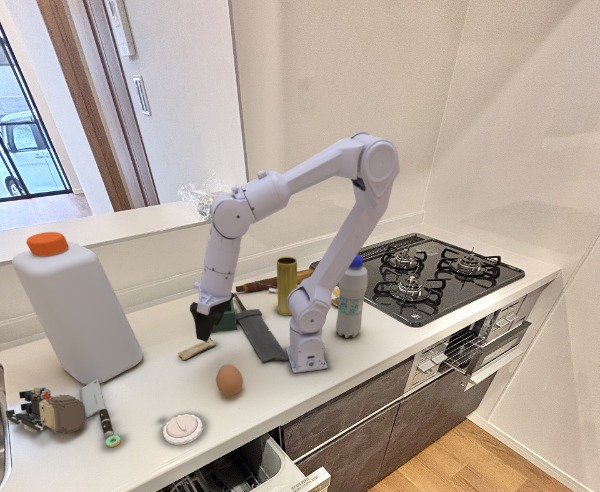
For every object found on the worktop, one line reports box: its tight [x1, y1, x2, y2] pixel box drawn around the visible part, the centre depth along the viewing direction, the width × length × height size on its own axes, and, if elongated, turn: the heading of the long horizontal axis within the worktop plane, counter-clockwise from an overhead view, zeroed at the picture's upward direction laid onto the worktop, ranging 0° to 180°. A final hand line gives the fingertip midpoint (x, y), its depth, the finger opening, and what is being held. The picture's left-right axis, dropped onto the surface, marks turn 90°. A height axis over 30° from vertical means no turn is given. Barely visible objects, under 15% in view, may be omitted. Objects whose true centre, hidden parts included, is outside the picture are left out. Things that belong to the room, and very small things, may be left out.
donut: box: [105, 434, 122, 448], centre depth 66 cm, size 2×10×1 cm, turn 121°
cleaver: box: [79, 379, 114, 439], centre depth 69 cm, size 17×1×5 cm
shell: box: [331, 288, 340, 307], centre depth 100 cm, size 8×4×5 cm
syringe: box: [259, 283, 278, 294], centre depth 107 cm, size 10×2×2 cm
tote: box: [211, 298, 238, 333], centre depth 93 cm, size 10×9×5 cm
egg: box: [215, 364, 244, 396], centre depth 71 cm, size 5×5×7 cm
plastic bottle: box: [11, 231, 144, 385], centre depth 72 cm, size 15×15×28 cm
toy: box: [5, 386, 87, 435], centre depth 65 cm, size 7×8×15 cm
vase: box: [276, 256, 298, 316], centre depth 94 cm, size 6×6×14 cm
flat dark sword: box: [233, 292, 289, 363], centre depth 92 cm, size 7×35×2 cm, turn 24°
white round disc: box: [162, 413, 204, 446], centre depth 66 cm, size 7×7×2 cm
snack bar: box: [177, 337, 218, 361], centre depth 85 cm, size 10×2×3 cm
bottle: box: [335, 254, 369, 339], centre depth 84 cm, size 7×7×20 cm
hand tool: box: [235, 268, 315, 293], centre depth 109 cm, size 26×3×4 cm, turn 113°
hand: (208, 331), depth 72 cm, fingers open, 7 cm apart
